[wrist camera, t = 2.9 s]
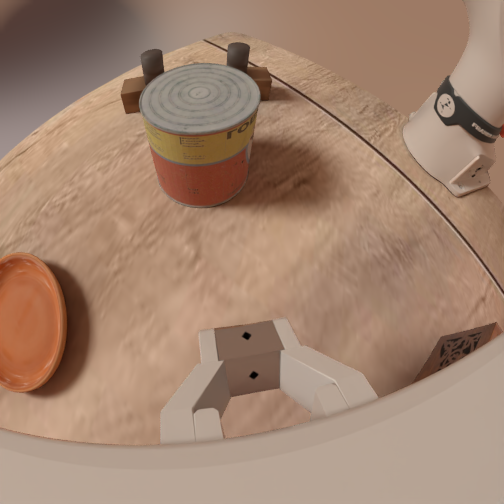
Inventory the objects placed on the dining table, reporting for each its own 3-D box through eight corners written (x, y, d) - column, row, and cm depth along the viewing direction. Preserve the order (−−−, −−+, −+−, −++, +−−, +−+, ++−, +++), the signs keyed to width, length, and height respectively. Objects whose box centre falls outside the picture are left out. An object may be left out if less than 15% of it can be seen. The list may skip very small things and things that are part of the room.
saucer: (59, 415, 22) (45, 418, 19) (-25, 355, 22) (-39, 352, 19) (94, 283, 28) (82, 274, 25) (7, 246, 28) (-5, 237, 25)
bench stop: (263, 86, 42) (271, 41, 33) (268, 100, 40) (277, 53, 32) (128, 98, 38) (118, 54, 30) (125, 113, 37) (113, 67, 29)
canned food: (253, 204, 33) (270, 130, 22) (155, 212, 31) (131, 140, 20) (242, 134, 37) (252, 62, 26) (160, 140, 35) (146, 68, 24)
